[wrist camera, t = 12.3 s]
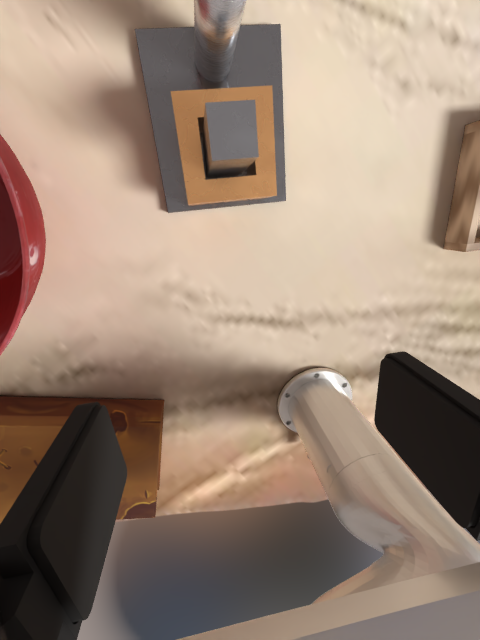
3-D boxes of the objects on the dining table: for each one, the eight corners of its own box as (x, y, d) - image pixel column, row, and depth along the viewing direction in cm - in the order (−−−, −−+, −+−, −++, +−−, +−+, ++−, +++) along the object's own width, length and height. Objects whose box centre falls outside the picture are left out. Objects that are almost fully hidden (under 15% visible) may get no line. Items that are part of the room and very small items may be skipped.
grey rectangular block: (235, 139, 30) (255, 99, 20) (238, 175, 31) (258, 156, 21) (202, 141, 29) (205, 102, 19) (206, 178, 31) (212, 160, 21)
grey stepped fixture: (283, 201, 34) (331, 193, 22) (169, 212, 32) (152, 211, 20) (272, -108, 24) (348, -423, 12) (110, -110, 23) (16, -470, 11)
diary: (164, 395, 42) (160, 421, 37) (159, 483, 48) (155, 517, 43) (-9, 391, 37) (-43, 421, 32) (10, 490, 44) (-15, 528, 38)
